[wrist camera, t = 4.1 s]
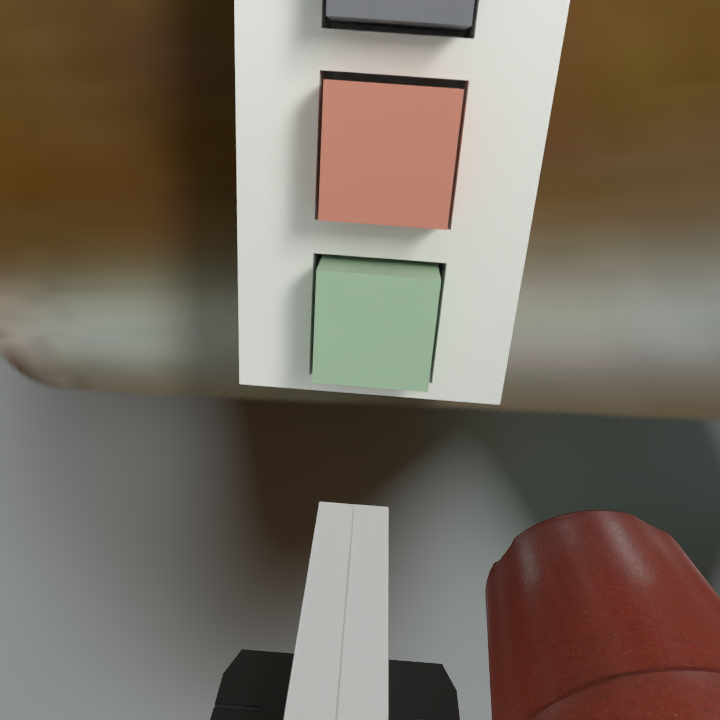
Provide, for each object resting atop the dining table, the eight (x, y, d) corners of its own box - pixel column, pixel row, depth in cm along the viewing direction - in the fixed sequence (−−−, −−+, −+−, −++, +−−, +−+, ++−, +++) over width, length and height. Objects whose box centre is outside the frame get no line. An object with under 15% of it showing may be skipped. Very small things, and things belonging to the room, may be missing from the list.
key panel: (258, -154, 25) (231, -199, 21) (565, -133, 25) (600, -176, 21) (258, 346, 33) (239, 384, 29) (486, 364, 33) (500, 404, 29)
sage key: (323, 251, 28) (316, 270, 25) (436, 260, 28) (441, 279, 25) (319, 355, 30) (311, 382, 27) (424, 363, 30) (427, 391, 27)
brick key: (330, 79, 25) (323, 79, 23) (456, 88, 25) (464, 89, 23) (325, 206, 27) (318, 220, 25) (441, 214, 27) (447, 230, 25)
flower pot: (608, 717, 43) (719, 1044, 29) (399, 621, 41) (402, 927, 26) (785, 552, 37) (1042, 861, 22) (552, 427, 35) (669, 684, 20)
